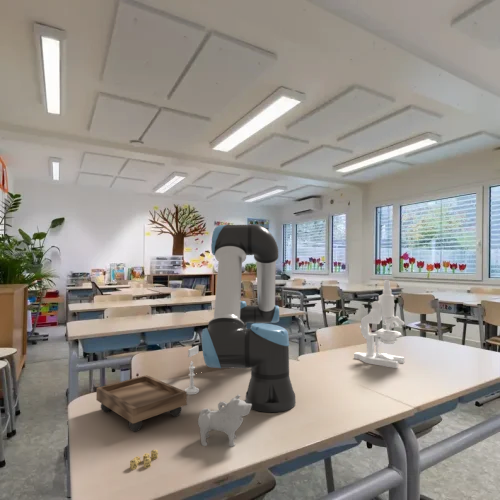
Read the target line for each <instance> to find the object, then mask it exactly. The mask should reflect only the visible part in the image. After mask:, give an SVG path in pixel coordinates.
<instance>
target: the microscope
mask: <svg viewBox="0 0 500 500" xmlns="http://www.w3.org/2000/svg"><path fill="white" fill-rule="evenodd" d="M383 281H384V282H383V289H382V294H380V295H378V300H375V301H372V303H371V310H370V311H369V312H368V314H366V315H365V316H363V317H362V318H361V321H360V325H359V327H358V328H359V329H360V332H361V335H362V337H363V338H364V339H365V340H366V352H359V351H357V352H354V353H353V359H356V360H360V361H361V362H364V363H365V364H370V365H376V366H381V367H388V368H393V369H398V368H399V363H400V364H404V363H405V357H404V356H400V355H394V354H390V353H386V352H382V353H379V351H380V350H379V349H380V348H379V345H381V344H382V343H383V344H385V345H394V344H395V343H396V342H397V341H398V338H399V337H403V336H404V335H402V332H400V331H397V330H392V329H394V328H395V326H396V327H400V325H402V326H405V324H406V322H405V321H403V320H402V319H401V318H400V317H399V316H398V315H396V316H395V295H394V294H392V292H393V291H392V289H391V282H390V281H391V280H390V279H384V280H383ZM383 317H384V324H385V327H386V328H385V329H384V328H383V327H382V328H380V329H377V330H376V331H374V333H371V332H370V324H373V325H380V324H381V323H380V322H381V321H383ZM390 328H391V330H390Z"/></svg>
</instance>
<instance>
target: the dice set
mask: <svg viewBox="0 0 500 500" xmlns="http://www.w3.org/2000/svg"><path fill="white" fill-rule="evenodd" d="M157 459H159V451H158V449H152V450H151V451H150V453H149V452H148V453H147V452H144V454H143V455H142V460H141V457H139V456H138V455H137V456H135V457H134V458H133V459H131V460H130V461H129V470H132V471H133V470H136V469H138V465H139V464H141V463H142V461H143V469H144V468H145V469H147V468H148V469H149V468H150V467H151V466H152V460H153V461H154V460H157Z"/></svg>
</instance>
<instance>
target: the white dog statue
mask: <svg viewBox="0 0 500 500" xmlns="http://www.w3.org/2000/svg"><path fill="white" fill-rule="evenodd" d="M240 397H241V394H237V395H235V397H233V398H231V399H230V401H229V402H225V401H223V400H222V401H219V403H218V404H217V408H218V410H211V409H209V408H202V409H201V410H200V412H199V416H198V418H197V424H198V427H199V429H200V431H199V434H200V439H201V440H200V441H201V443H200V444H201V446H203V447H207V446H208V445H209V443H208V442H207V439H208V438H210V436H211V435H210V433H209V432H211V431H219V432H224V433H225V434H227V437H228V442H229V447H230V448H234V447H236V443H235V439H237V435H236V434H235V433H236V431H237V430H238V429H239V428H240V427H241V426H242V423H243V421H244V418H243V417H245V416H247V415H249V414H250V412H251V410H252V409H251V406H252V404H248V403H246V400H243V399H240Z"/></svg>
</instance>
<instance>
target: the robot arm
mask: <svg viewBox="0 0 500 500" xmlns="http://www.w3.org/2000/svg"><path fill="white" fill-rule="evenodd" d="M210 244H211V246H210V247H211V248H210V249H211V250H210V251H211V253H212V256H214V257H215V260H216V261H218V264H217V265H218V266H217V274H216V275H217V276H216V286H215V288H216V289H215V300H214V309H213V310H214V311H213V318H212V319H210V320H209V321H208V326H207V327H205V328H203V329H202V332H201V341H200V342H198V343H197V342H196V343H191V348H188V349H187V357H188V358H191V357H193V356H195V355H197V354H198V353H199V352H202V356H203V360H204V363H205V365H206V366H207V367H208V368H218V369H250V370H251V371H250V372H251V373H250V380H249V383H248V387H247V391H246V393H245V402H246V403H248V404H252V406H251V409H250V410H254V411H258V412H262V413H280V412H281V413H282V412H285V411H288V410H292V409H293V408H294V407H295V406H296V394H295V392H294V387H293V385H292V381H291V377H290V351H289V350H290V348H289V347H290V346H291V345H290V340H289V338H290V337H289V332H288V330H287V329H286V328H284V327H283V326H280V325H276V324H274V323H278V322H279V321H280V306H279V305H276V273H277V272H276V271H277V270H276V269H277V268H276V265H277V264H276V262H277V261H278V259H279V247H278V244H277V241H276V239H275V237H274V236H273V234H272V233H271V232H270V231H269V230H268V229H266V227H263V226H262V225H259V224H220V225H216V226H215V228H214V230H213V232H212V236H211V243H210ZM247 256H253V260H255V262H256V281H257V282H256V287H257V288H256V289H257V305H247V301H244V300H241V299H242V273H243V271H242V270H243V263H244V262H245V261H246V259H247ZM249 323H251V324H250V327H249V328H247V327H248V326H247V324H249ZM272 323H273V324H272Z"/></svg>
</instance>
